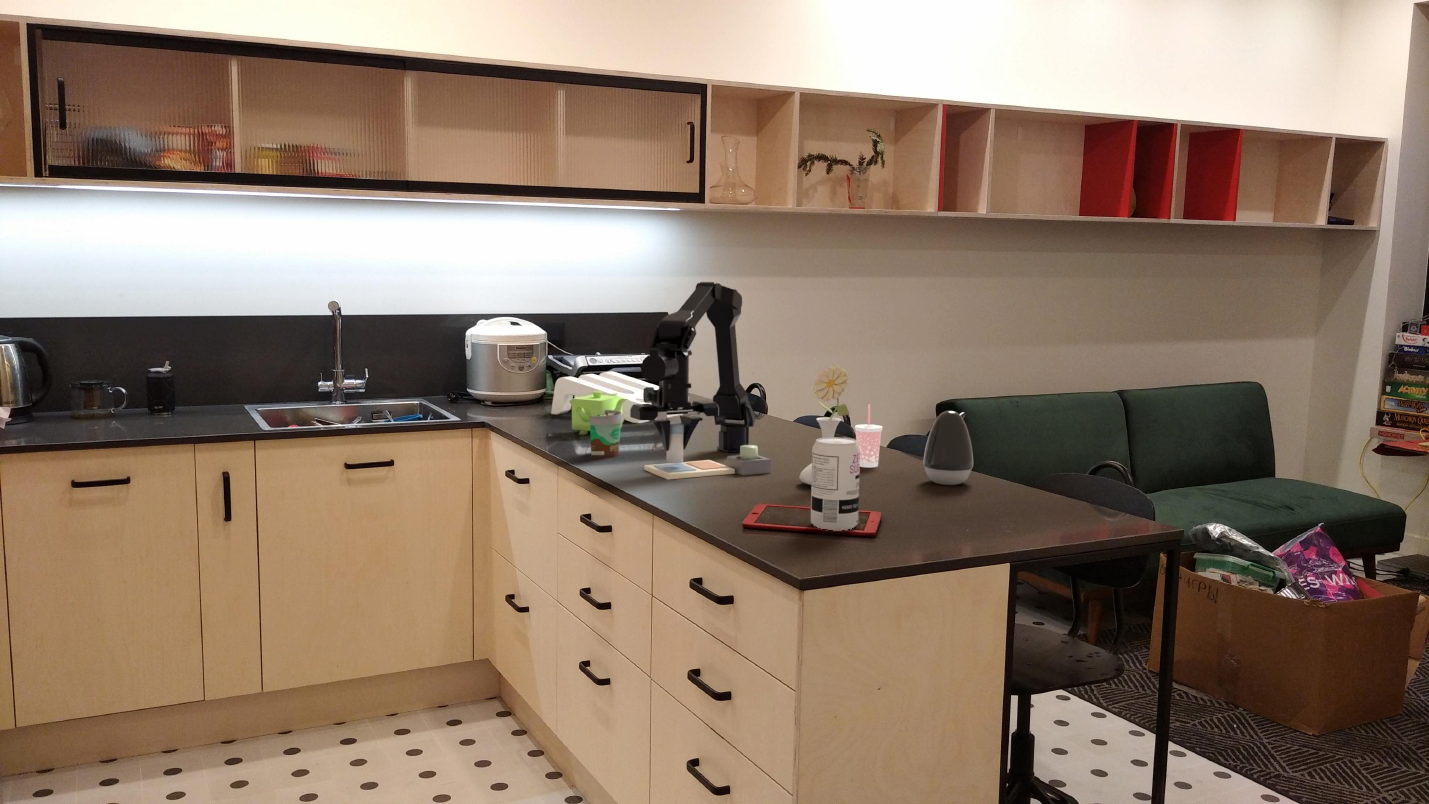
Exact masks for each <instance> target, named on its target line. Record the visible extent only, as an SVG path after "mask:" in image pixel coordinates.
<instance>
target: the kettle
mask: <svg viewBox="0 0 1429 804" xmlns="http://www.w3.org/2000/svg"><path fill="white" fill-rule="evenodd" d="M592 393H593V395H588V396H583V397H578V398H575V397H574V398H572V400H571V401H569V402H570V404H571V430H575V431H579V433H578V435H582V436H585V435H588V433H589V432H590V425H589V421H590V416H597V415H602V414H604V411H605V410H615V411H620V412H621V414H622V404H623V403H624V402H625V401H626V400H628V399H622V397H620V396H616V395H617V394H618V393H613V394H612V395H611V396H607V395H602V392H600V391H594V392H592ZM621 428H623V422H622V423H621Z"/></svg>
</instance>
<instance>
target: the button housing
mask: <svg viewBox="0 0 1429 804" xmlns="http://www.w3.org/2000/svg"><path fill="white" fill-rule="evenodd" d="M726 459H727V460H726V466H728V467H731V468H733V469H735V474H737V475H740V476H752V475H763V474H771V473H772V472H771V470H772V469H771V468H772V467H771V466H772V459H771V458H768V457H764V456H762V455H759V454H758V459H754V460H743V459H740V454H739V455H728V456H726Z"/></svg>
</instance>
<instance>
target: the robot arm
mask: <svg viewBox="0 0 1429 804" xmlns="http://www.w3.org/2000/svg"><path fill="white" fill-rule="evenodd" d="M742 306H743V298H742V295H741V293H740V292H738V290H737V289H735V288H731V287H727V286H724V285H722V284H720V283H718V282H717V281H700V282H698V283H696V285H695V288H694V290H693V292H692V293H691V294H690V296H689V297H688V298H687V299H686V300H685V302H684V303H683V304H682V305H681V307H680V308H679V309H678V310H677V311H675V312H673V313H670V314H666V315H665V317H663V318H662V319H661V320H660V321H659V322H658V324H657V326H656V328H655V331H654V335H653V337H652V341H651V344H650V346H649V354H648V355H647V356H645V357H644V359H643V360H642V362H641V365H640V371H641V375H642V376H643V377H644V379H645V380H646V381H648V382H651V383H657V382H659V383H658V386H659V389H658V390H654V388H653V387H646V388H644V389H643V399H644V402H645V403H651V404H652V405H651V404H633V406H632V407H631V409H630V417H632V418H635V419H638V420H648V422H652V423H653V424H654V425H655V428H656V430H657V432H658V435H659V437H660V441H661V443H662V446H663V449H664V451H665V452H667V451H668V450H669V442H670V423H671V420H670V419H667V415H674V414H683V415H679V418H680V423H682V424H684V433H683V451H684V450H686V448H687V446H688V444H689V441H690V439H691V437H692V435H693V433H694V431H695V429H696V428H697V426H698V424H699V422H702V421H703V419H704V418H703V417H700V416H701V414H702V413H703V414H704V416H705V417H713V418H714V425H715V426H720V430H719V431H718V446H717V447H716V448H717V450H719V451H723V452H726V453H740V446H742V445H750V442H749V441H750V428H752V427H754V426H755V423H756V415H755V413H754V411H753V408H752V405H751V403H750V402H749V397H748V396H749V395H748V392H747V391H746V390H745V387H743V385H742V383H741V382H740V366H739V358H738V357H739V355H738V343H737V333H736V324H737V322H738V320H739V319H740V316H741V314H742ZM705 314H706V318H707V319H708V320H709V322H710V323H711V325H712V326H713V327H714V333H715V345H716V346H715V347H716V358H717V360H716V361H717V368H718V372H717V373H718V381H719V387H718V389H717V391H716V393H715V394H714V395H713V397H712V401H711V400H708V399H707V400H693V402H690V401H688V398H689V399H690V394H689V393H690V392H689V389H692V383H691V382H689V377H690V376H689V375H690V374H689V372H690V370H689V369H690V366H689V365H690V361H689V360H690V359H689V358H690V356H692V354H693V352H692V350H691V349H690V347H691V345H692V343H693V342H694V340H695V337H697V330H696V326H697V324H698V323H699V322H700V320H701V319H702V318H703V317H704V316H705ZM670 408H671V409H670Z"/></svg>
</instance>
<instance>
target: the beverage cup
mask: <svg viewBox="0 0 1429 804" xmlns="http://www.w3.org/2000/svg"><path fill="white" fill-rule="evenodd" d="M867 407H868V409H867V410H868V411H867V424H856V425H855V426H854V428H855V434H856V436H855V437H856V441H857V445H858V447H859V449H860V467H861V468H878V467H879V459H880V449H881V448H880V447H881V437H882V436H881V435H882V431H883V426H882V425H880V424H879V425H877V424H871V403H868V406H867Z"/></svg>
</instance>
